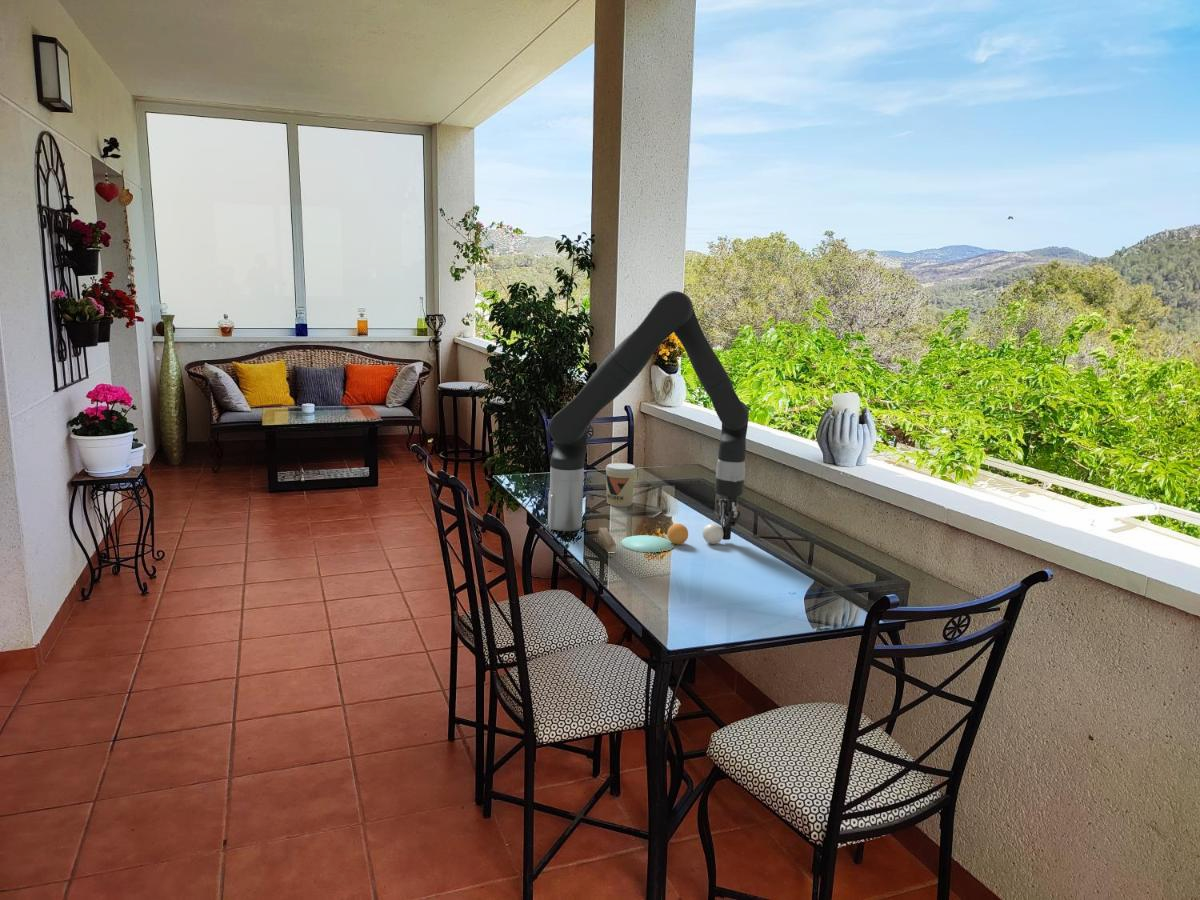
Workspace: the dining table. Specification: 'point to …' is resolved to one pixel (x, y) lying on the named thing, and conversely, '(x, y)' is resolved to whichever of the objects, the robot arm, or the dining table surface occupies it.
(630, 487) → the coffee cup
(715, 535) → the cue ball
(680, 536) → the object ball
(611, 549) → the brown wooden bar
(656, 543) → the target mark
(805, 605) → the dining table surface
